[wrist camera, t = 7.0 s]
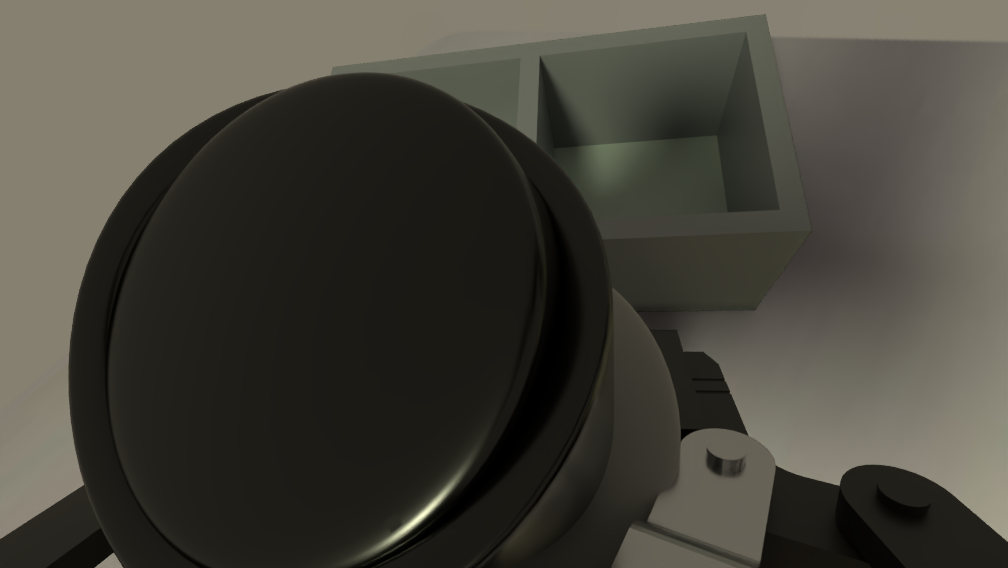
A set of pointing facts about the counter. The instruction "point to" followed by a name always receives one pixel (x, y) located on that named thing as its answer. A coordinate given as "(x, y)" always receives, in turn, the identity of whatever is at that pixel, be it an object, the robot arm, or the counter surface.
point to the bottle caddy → (655, 149)
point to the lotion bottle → (363, 347)
